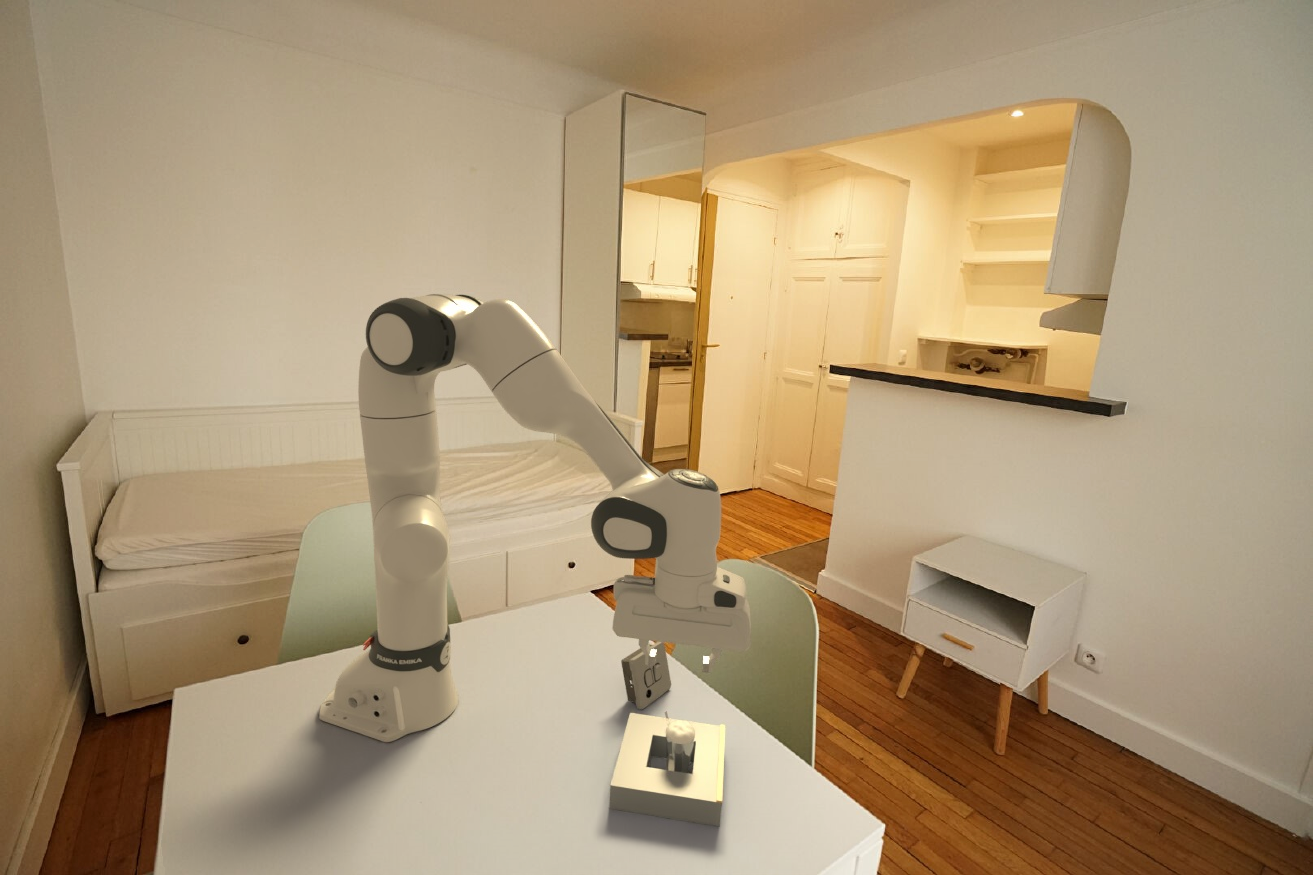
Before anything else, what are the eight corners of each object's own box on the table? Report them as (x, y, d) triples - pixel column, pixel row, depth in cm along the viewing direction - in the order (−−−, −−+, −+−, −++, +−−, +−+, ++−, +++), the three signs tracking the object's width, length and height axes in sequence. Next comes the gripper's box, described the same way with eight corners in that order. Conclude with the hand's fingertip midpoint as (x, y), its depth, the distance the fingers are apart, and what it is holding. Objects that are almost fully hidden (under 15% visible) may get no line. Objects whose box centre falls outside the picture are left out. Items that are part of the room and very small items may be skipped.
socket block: (609, 808, 89) (610, 783, 88) (628, 733, 104) (630, 711, 103) (719, 826, 87) (722, 800, 86) (723, 747, 102) (725, 724, 101)
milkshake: (670, 758, 99) (674, 704, 97) (697, 776, 96) (702, 720, 93) (652, 774, 96) (656, 718, 93) (679, 792, 92) (684, 735, 90)
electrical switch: (640, 712, 110) (639, 664, 108) (619, 702, 113) (617, 655, 111) (672, 688, 117) (671, 643, 115) (651, 679, 120) (650, 635, 119)
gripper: (609, 583, 86) (605, 669, 89) (756, 600, 84) (746, 689, 87) (618, 564, 92) (614, 646, 95) (755, 579, 90) (746, 663, 93)
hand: (678, 666), depth 91 cm, fingers open, 7 cm apart
